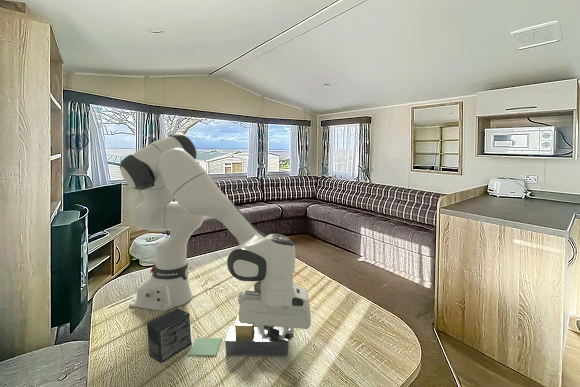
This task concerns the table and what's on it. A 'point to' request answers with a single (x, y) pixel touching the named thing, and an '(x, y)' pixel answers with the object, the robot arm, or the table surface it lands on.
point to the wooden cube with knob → (243, 330)
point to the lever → (277, 329)
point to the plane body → (256, 345)
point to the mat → (205, 347)
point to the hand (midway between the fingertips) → (273, 338)
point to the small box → (169, 334)
